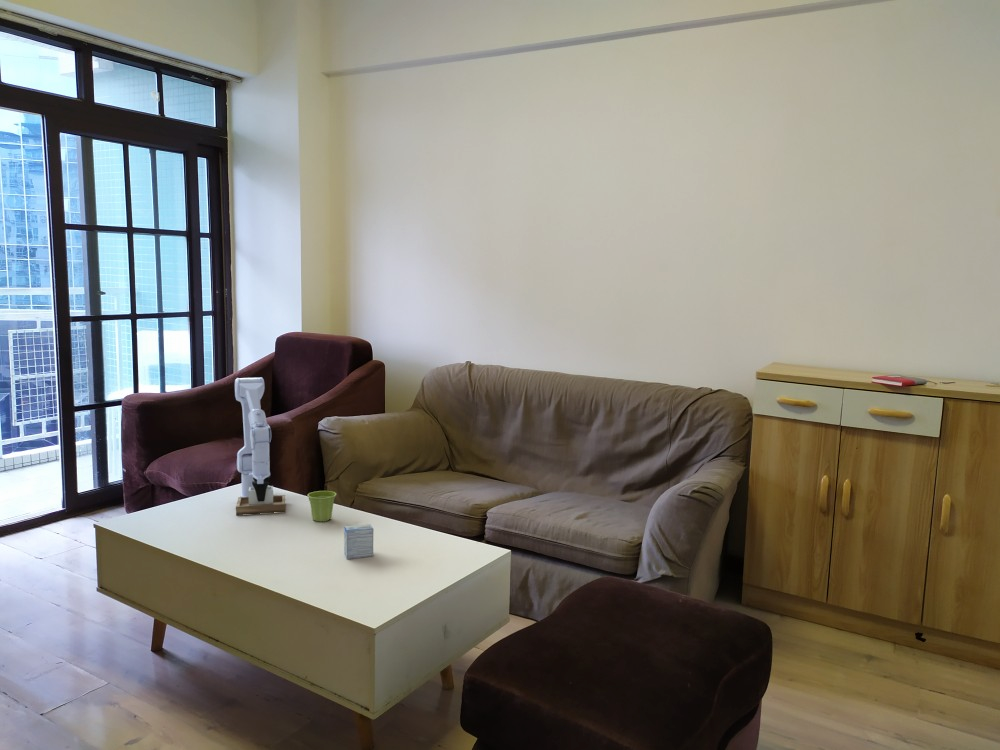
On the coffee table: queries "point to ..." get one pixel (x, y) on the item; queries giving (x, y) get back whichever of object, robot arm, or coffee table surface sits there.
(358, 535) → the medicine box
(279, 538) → the coffee table surface
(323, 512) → the plant pot
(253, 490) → the white crate
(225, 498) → the coffee table surface
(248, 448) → the robot arm
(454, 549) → the coffee table surface
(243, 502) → the walnut crate
